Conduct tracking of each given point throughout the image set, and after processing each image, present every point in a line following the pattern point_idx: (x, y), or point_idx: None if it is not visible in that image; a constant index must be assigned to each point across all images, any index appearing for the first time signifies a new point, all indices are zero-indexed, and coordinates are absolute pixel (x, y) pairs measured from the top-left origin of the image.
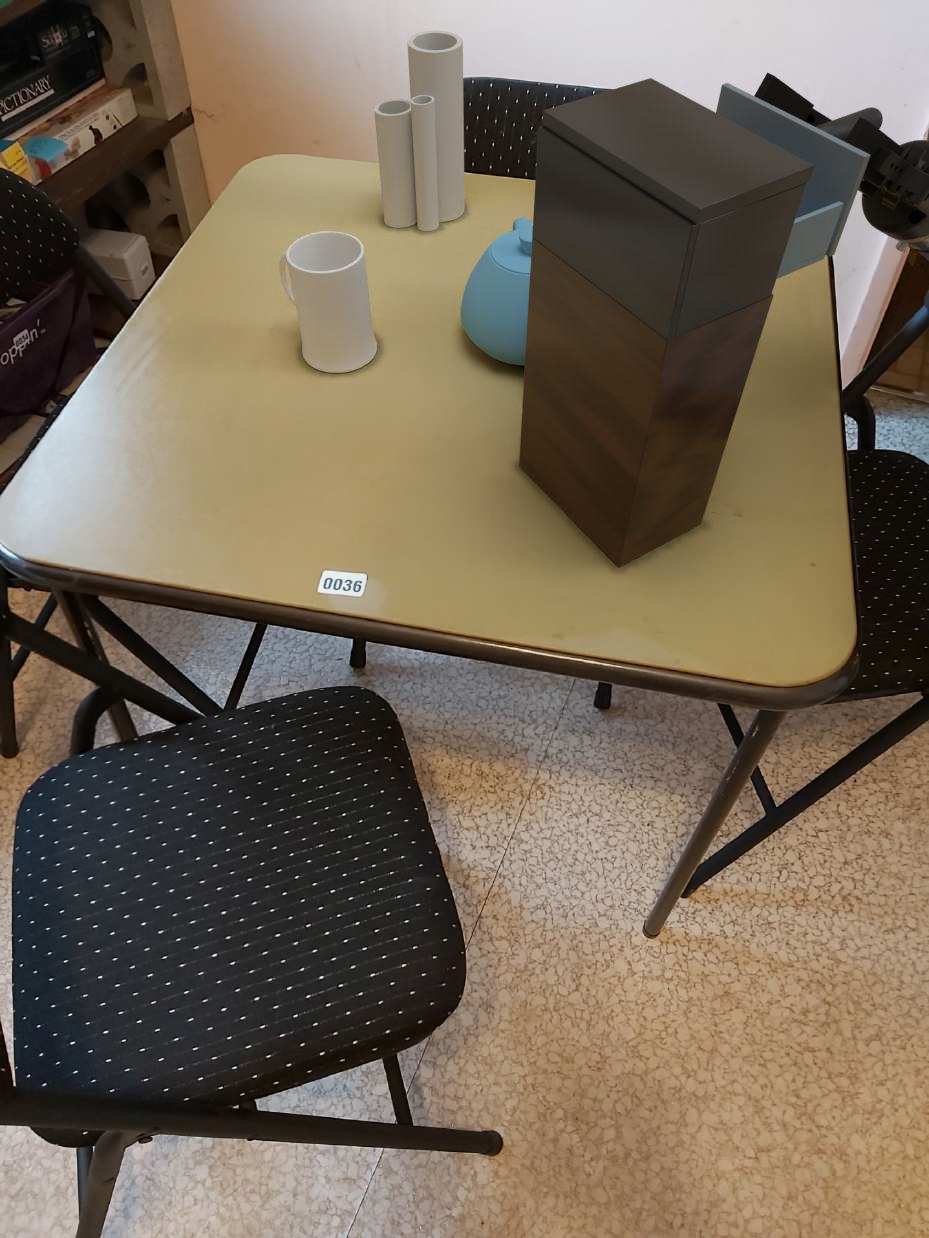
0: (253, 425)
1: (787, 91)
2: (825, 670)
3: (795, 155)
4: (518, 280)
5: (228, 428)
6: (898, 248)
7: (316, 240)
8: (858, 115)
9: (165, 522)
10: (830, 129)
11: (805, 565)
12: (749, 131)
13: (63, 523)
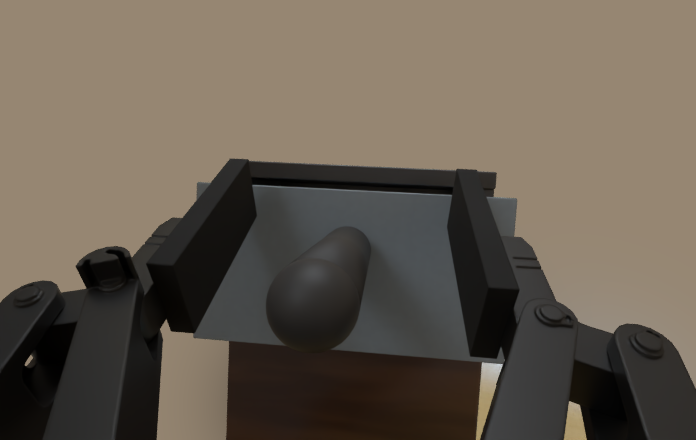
0: (568, 435)
1: (464, 209)
2: None
3: (260, 161)
4: None
5: (568, 425)
6: None
7: None
8: (321, 246)
9: (482, 384)
10: (326, 236)
11: None
12: (325, 164)
13: (499, 365)
